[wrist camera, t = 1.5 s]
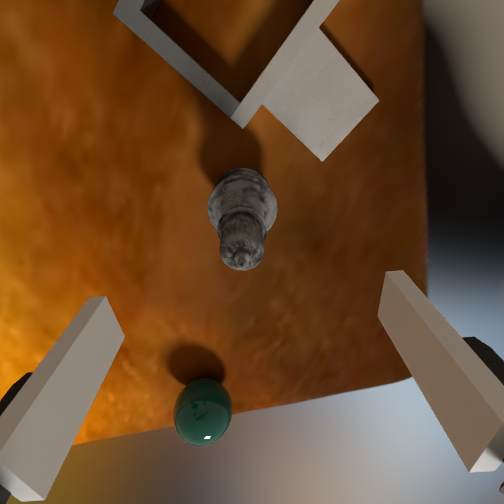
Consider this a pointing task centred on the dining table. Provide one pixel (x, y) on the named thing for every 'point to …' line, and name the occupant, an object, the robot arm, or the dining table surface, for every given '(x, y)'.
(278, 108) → the flanged square frame
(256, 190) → the grey chess piece
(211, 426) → the sphere
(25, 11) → the dining table surface
